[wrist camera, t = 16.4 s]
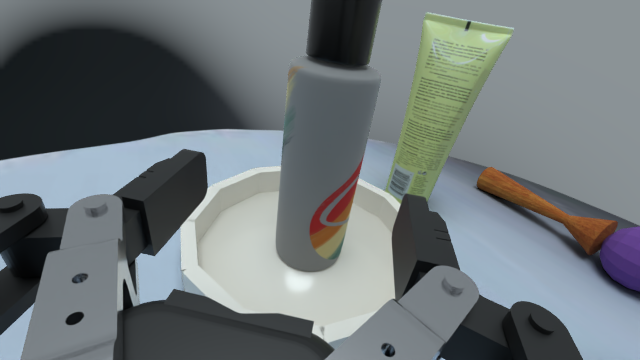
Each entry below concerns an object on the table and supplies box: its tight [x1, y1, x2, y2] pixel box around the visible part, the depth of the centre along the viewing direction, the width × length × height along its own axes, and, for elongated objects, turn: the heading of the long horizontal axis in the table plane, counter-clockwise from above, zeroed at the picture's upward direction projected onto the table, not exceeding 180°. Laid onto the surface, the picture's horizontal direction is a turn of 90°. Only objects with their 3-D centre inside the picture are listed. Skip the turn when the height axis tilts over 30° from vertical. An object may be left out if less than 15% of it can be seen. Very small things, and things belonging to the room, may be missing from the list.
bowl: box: [181, 166, 401, 350], centre depth 26 cm, size 19×19×4 cm
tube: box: [385, 12, 514, 204], centre depth 32 cm, size 6×5×20 cm
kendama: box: [477, 167, 640, 291], centre depth 34 cm, size 6×6×20 cm
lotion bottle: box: [276, 0, 382, 271], centre depth 21 cm, size 6×6×20 cm
